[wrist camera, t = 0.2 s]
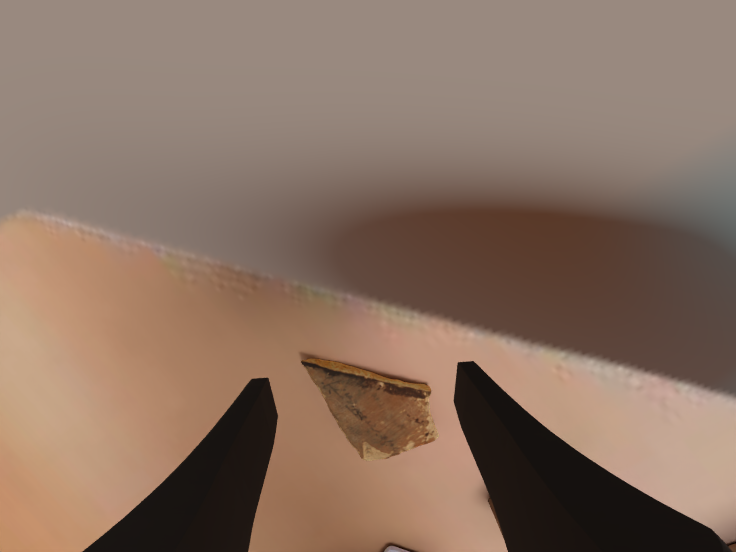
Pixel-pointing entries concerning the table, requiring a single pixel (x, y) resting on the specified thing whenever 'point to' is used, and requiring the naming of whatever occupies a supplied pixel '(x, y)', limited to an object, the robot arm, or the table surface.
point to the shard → (374, 409)
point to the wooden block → (732, 547)
